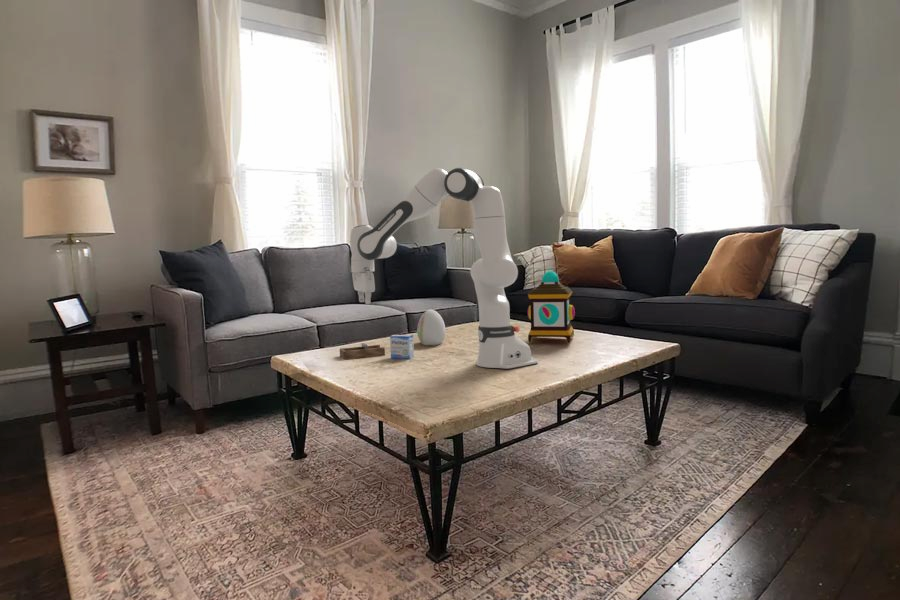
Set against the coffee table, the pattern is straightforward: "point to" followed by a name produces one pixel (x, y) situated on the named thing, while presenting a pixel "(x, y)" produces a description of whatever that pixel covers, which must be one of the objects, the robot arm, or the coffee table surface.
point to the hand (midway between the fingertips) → (364, 302)
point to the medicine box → (402, 346)
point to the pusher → (364, 346)
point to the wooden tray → (362, 352)
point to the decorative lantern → (550, 309)
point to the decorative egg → (431, 328)
